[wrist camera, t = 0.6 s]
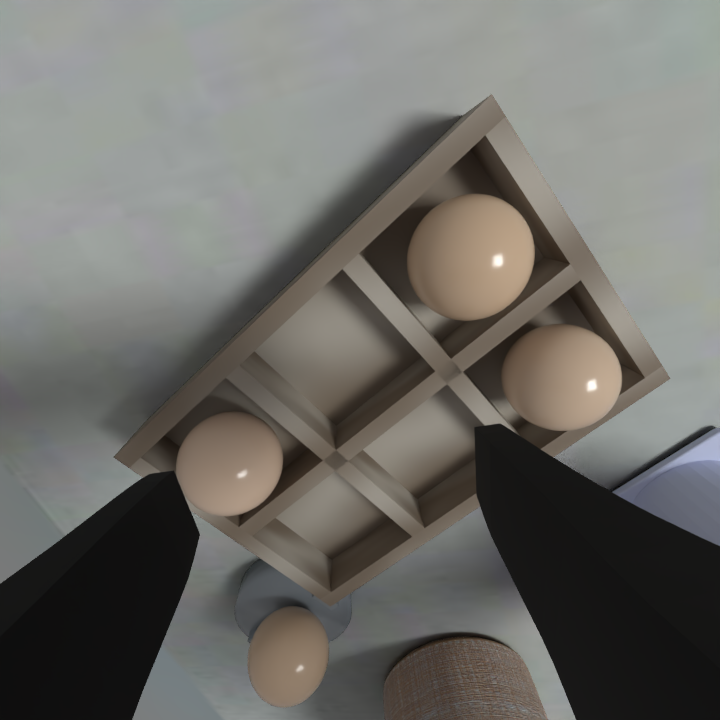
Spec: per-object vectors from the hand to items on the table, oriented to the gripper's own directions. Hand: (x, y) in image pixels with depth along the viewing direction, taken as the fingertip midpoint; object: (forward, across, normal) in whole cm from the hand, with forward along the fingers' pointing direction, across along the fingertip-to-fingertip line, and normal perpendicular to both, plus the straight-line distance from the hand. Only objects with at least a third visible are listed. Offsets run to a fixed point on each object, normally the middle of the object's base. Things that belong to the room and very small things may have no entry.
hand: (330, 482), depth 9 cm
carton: (+10, -2, +3) cm, 10 cm away
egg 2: (+9, -6, -4) cm, 11 cm away
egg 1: (+9, +5, +4) cm, 11 cm away
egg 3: (+9, -9, +2) cm, 13 cm away
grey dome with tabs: (+10, +5, +16) cm, 20 cm away
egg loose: (+8, +5, +16) cm, 19 cm away
